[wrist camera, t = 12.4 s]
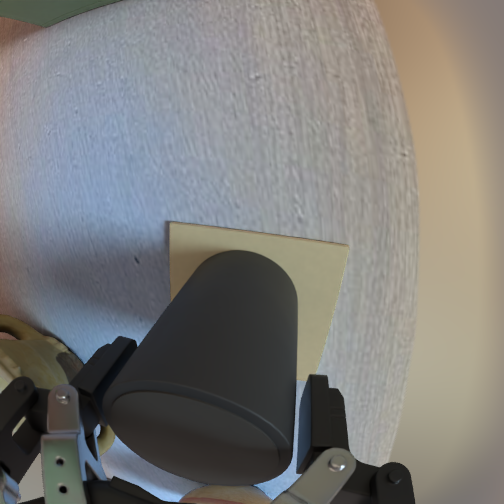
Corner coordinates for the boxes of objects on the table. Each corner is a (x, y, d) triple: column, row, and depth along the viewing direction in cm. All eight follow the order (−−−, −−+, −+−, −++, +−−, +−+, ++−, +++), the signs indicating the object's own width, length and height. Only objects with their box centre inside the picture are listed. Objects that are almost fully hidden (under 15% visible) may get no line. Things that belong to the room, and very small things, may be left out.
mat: (348, 244, 15) (349, 247, 15) (313, 378, 19) (313, 382, 19) (171, 221, 16) (169, 222, 16) (175, 355, 20) (174, 358, 20)
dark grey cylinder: (306, 258, 16) (315, 409, 6) (288, 353, 18) (274, 496, 9) (188, 242, 16) (79, 354, 7) (188, 336, 19) (123, 459, 9)
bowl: (-3, 324, 24) (-50, 364, 15) (41, 249, 19) (-46, 302, 10) (88, 428, 28) (56, 479, 19) (176, 408, 22) (138, 495, 14)
